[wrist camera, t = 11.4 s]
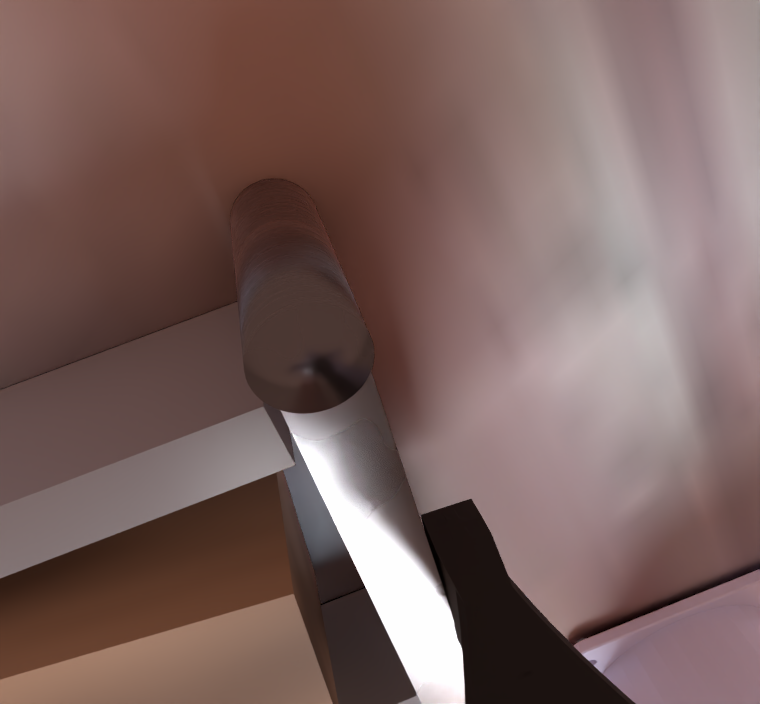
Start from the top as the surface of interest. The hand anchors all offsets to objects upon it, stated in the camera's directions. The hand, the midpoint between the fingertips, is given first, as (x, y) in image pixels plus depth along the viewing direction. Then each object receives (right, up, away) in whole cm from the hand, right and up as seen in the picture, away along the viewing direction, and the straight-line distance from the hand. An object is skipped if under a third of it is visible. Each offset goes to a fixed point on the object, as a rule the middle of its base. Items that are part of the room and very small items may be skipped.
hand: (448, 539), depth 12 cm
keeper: (-2, +2, +1) cm, 3 cm away
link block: (-6, 0, +2) cm, 6 cm away
